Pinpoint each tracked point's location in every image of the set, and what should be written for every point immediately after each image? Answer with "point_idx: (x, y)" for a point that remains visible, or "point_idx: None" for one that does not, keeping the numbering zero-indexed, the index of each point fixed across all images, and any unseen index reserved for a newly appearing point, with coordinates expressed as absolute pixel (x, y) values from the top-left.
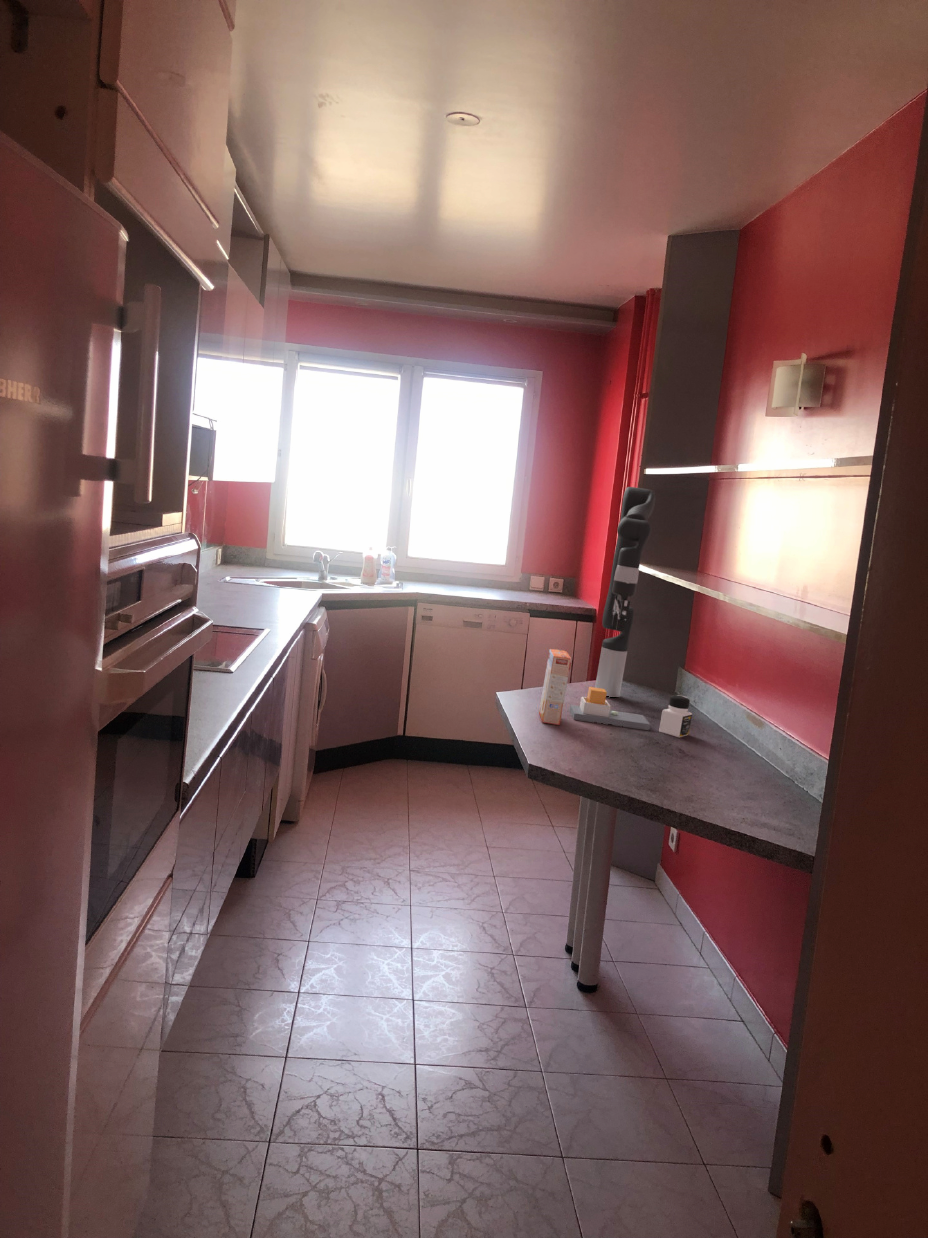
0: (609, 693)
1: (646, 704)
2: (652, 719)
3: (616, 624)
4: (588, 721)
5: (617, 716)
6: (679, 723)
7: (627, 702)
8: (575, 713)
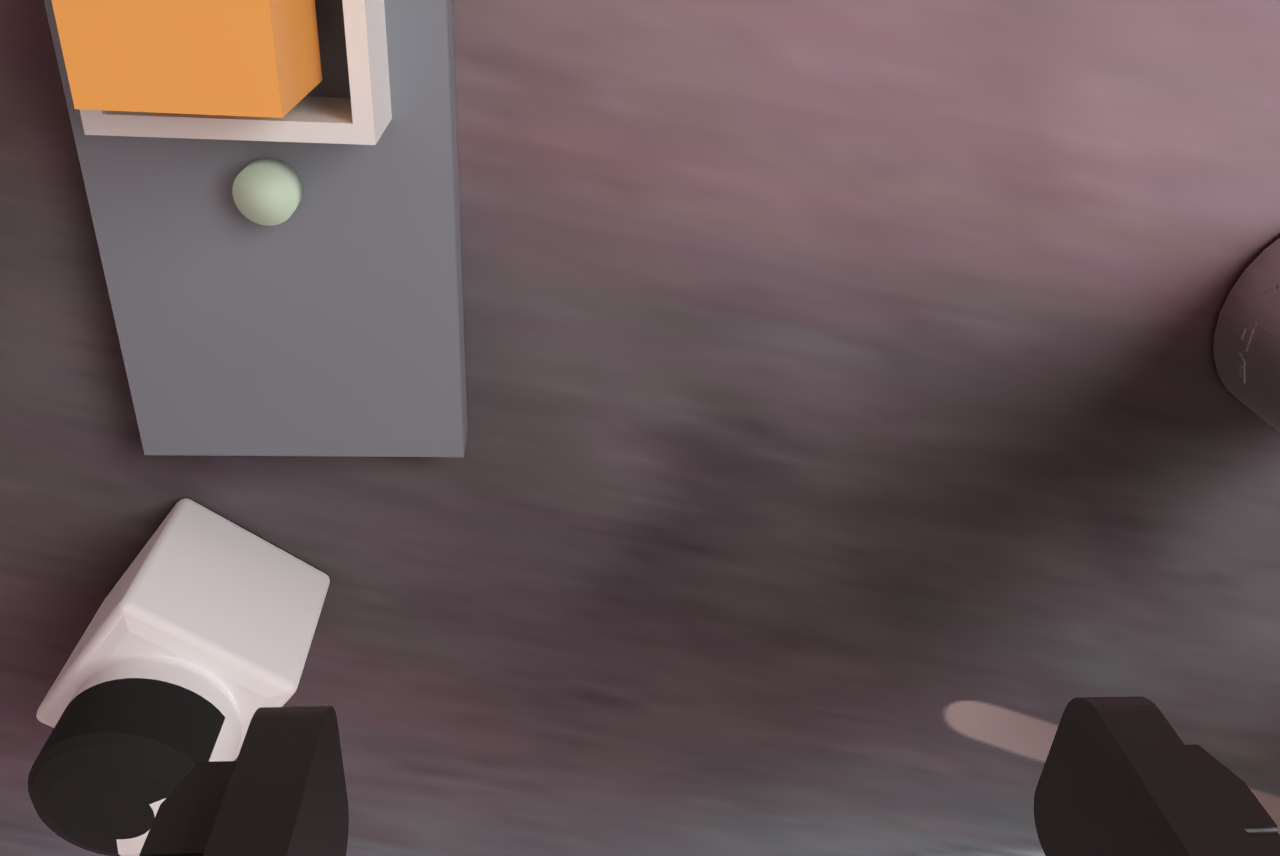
0: (1241, 328)
1: (1086, 573)
2: (588, 524)
3: (1089, 842)
4: None
5: (226, 210)
6: (69, 657)
7: (1101, 443)
8: None
